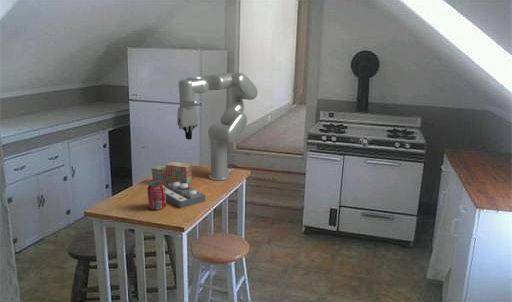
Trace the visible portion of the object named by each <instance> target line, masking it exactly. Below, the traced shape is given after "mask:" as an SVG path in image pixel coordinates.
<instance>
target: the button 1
mask: <svg viewBox="0 0 512 302" xmlns="http://www.w3.org/2000/svg"><path fill="white" fill-rule="evenodd" d="M179 185H180V182H173V183H172V186H174V187H175V186H179Z"/></svg>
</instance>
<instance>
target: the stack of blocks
mask: <svg viewBox="0 0 512 302" xmlns="http://www.w3.org/2000/svg"><path fill="white" fill-rule="evenodd" d="M192 170H193V169H192V163H186V162H177V161H175V162H174V161H170V162H169V163H167V164H166V165H155V166H154V167H152V168H151V176H152V177H151V179H152V182H154V181H161V182H163V185H164V186H165V187H168V184H170V183H173V182H180V183H187V184H188V187H191V186H192V185H193V182H192V181H193V180H192V175H193V174H192Z"/></svg>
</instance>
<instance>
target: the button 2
mask: <svg viewBox="0 0 512 302" xmlns="http://www.w3.org/2000/svg"><path fill="white" fill-rule="evenodd" d="M197 191H198V190H196V189H193V190H190V191H188V194H189V195H194V194H197Z"/></svg>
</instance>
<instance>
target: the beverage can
mask: <svg viewBox="0 0 512 302" xmlns="http://www.w3.org/2000/svg"><path fill="white" fill-rule="evenodd" d="M165 187H166V186H164V185H163V182H161V181H154V182H153V181H151V182H149V183H148V185H147V202H148V204H147V205H148V208H149V209H150V210H152V211H161V210H163V209H164V208H165V207H166V206H167V200H166V196H165Z"/></svg>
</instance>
